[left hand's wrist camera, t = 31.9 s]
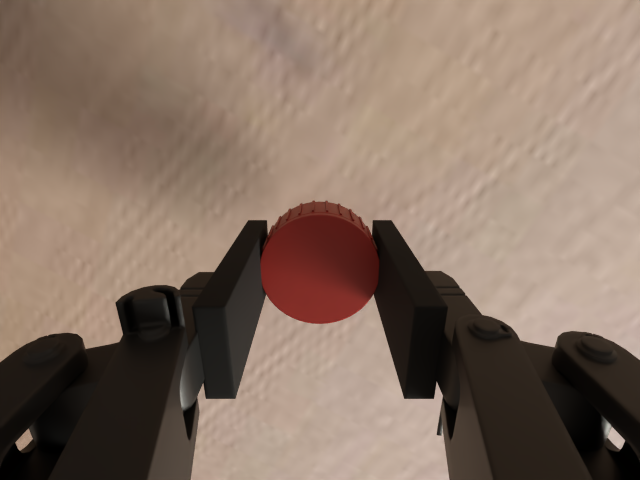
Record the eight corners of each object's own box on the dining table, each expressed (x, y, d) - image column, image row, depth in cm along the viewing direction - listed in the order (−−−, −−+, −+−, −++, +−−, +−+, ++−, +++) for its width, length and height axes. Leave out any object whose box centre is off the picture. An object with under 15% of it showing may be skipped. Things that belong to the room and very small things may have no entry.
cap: (311, 317, 15) (310, 344, 13) (243, 244, 14) (232, 263, 12) (394, 261, 14) (405, 282, 12) (329, 176, 13) (331, 186, 11)
